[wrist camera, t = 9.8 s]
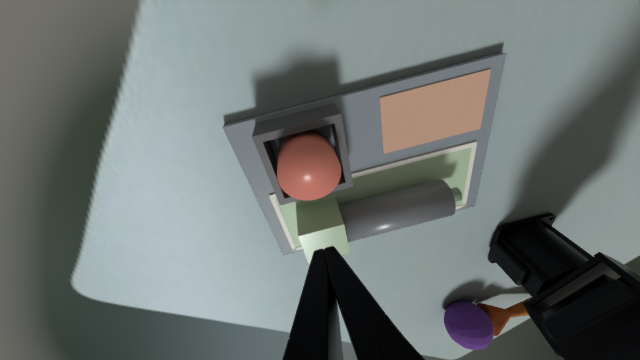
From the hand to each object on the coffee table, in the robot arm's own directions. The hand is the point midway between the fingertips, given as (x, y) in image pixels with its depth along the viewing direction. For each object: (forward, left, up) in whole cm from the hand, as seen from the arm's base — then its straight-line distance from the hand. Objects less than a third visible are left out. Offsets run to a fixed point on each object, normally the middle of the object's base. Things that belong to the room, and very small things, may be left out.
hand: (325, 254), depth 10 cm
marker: (-5, +7, -10) cm, 13 cm away
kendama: (-23, +34, -11) cm, 42 cm away
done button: (0, 0, -9) cm, 9 cm away
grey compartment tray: (-5, +4, -11) cm, 12 cm away
